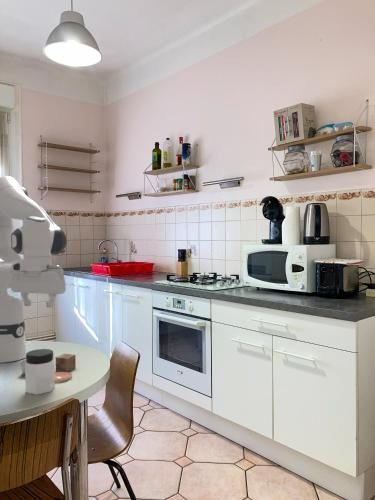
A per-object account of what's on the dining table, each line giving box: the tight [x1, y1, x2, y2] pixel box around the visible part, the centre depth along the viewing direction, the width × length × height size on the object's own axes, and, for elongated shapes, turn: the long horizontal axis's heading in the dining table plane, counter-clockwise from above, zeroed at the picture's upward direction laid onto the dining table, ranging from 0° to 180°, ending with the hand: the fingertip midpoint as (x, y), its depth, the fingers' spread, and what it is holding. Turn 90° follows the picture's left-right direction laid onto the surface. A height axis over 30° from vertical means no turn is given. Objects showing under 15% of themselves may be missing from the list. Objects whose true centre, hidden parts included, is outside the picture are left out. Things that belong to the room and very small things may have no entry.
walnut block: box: [54, 353, 77, 373], centre depth 150 cm, size 5×5×5 cm
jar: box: [24, 348, 56, 396], centre depth 130 cm, size 9×8×12 cm
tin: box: [20, 359, 26, 377], centre depth 145 cm, size 5×5×5 cm
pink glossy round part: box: [54, 371, 73, 384], centre depth 141 cm, size 9×9×1 cm
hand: (38, 306), depth 137 cm, fingers open, 8 cm apart
